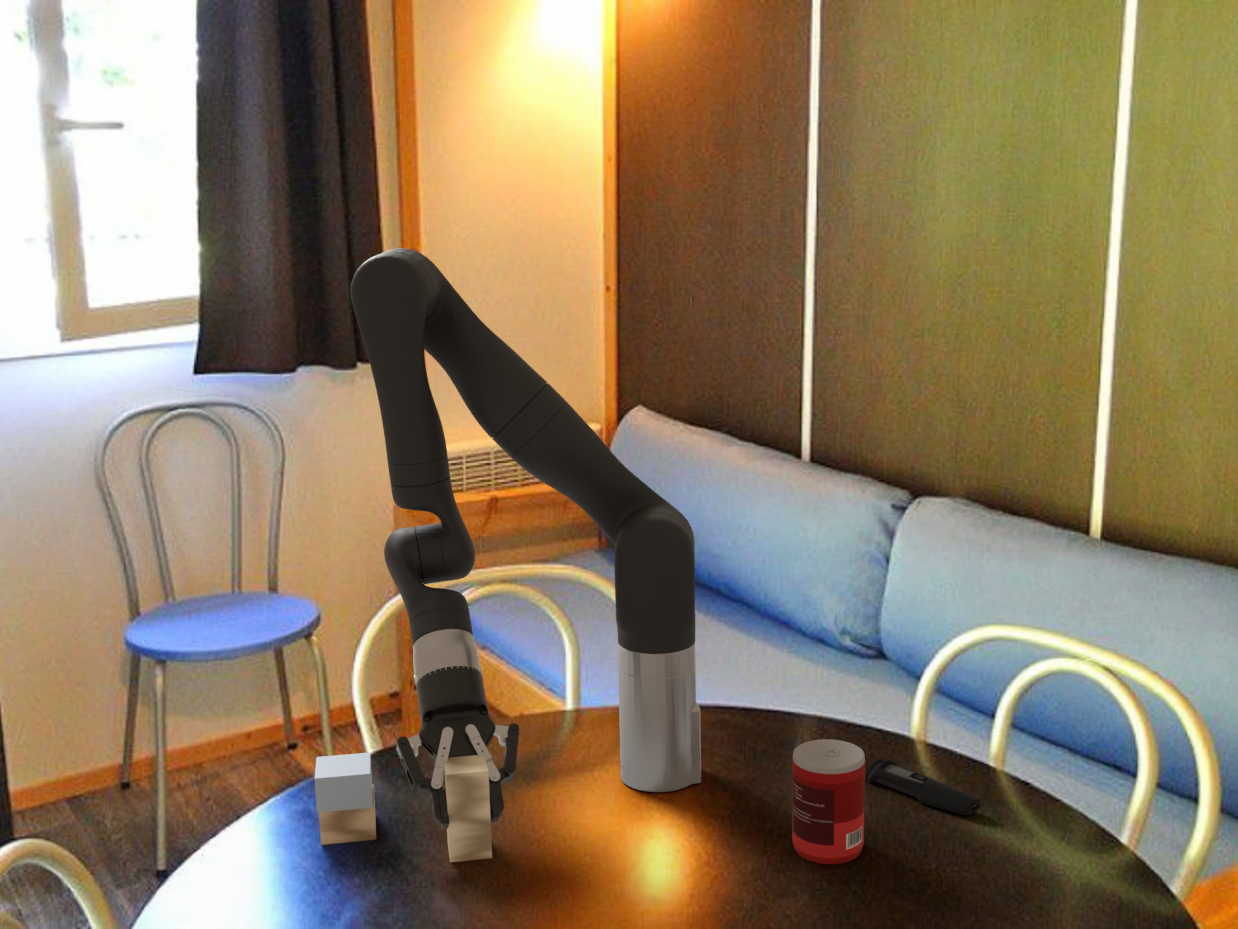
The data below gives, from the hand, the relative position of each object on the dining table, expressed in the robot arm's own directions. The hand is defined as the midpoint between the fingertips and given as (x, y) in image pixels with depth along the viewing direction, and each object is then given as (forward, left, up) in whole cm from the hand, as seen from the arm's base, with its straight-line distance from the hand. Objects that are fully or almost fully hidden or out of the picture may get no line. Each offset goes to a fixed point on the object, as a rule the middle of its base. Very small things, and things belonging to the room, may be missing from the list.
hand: (470, 822), depth 152 cm
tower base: (+13, -10, -4) cm, 17 cm away
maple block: (0, -2, -4) cm, 5 cm away
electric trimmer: (-53, -4, -5) cm, 53 cm away
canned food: (-38, +6, -4) cm, 39 cm away
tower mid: (+13, -10, 0) cm, 17 cm away
